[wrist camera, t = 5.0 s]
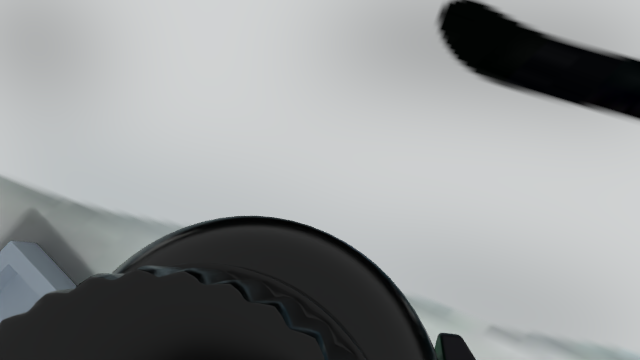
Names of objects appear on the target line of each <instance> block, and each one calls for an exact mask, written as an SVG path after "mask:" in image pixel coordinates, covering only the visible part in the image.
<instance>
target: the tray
mask: <svg viewBox="0 0 640 360" xmlns="http://www.w3.org/2000/svg"><path fill="white" fill-rule="evenodd" d="M76 287H77V286H76V285H75V284H74V283H73V282H72V280H71V279H70V278H69V277H68V276H67V275H66V274H65V273H64V272H63V271H62V270H61V269H60V268H59V267H58V266H57V265H56V263H55V262H54V261H53V260H52V259H51V258H50V257H49V256H48V255H47V254H46V253H45V252H44V251H43V250H42V249H41V247H40V246H39V245H38V244H37V243H31V242H21V241H10V242H9V243H8V244H7V245H6V246H5V247H4V248H3V249H2V250H1V251H0V322H1V321H2V320H3V319H6V318H8V317H11V316H14V315H17V314H20V313H24V312H27V311H29V310H30V309H31V308H32V307H33V305H34V304H35V303H36V302H37V301H38V300H39V299H40V298H41V297H43V296H44V295H45V294H47V293H49V292H52V291H56V290H65V289H75V288H76Z"/></svg>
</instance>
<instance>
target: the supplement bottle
mask: <svg viewBox="0 0 640 360" xmlns="http://www.w3.org/2000/svg"><path fill="white" fill-rule="evenodd" d="M0 360H438V358H437V355H436V352H435V349H434V347H433V345H432V343H431V340H430V338H429V336H428V334H427V331H426V329H425V328H424V326H423V324H422V322H421V321H420V319H419V317H418V315H417V314H416V312H415V310H414V309H413V307H412V306H411V304H410V303H409V302H408V300H407V299H406V297H405V296H404V294H403V293H402V292H401V291H400V289H399V288H398V287H397V286H396V285H395V284H394V282H393V281H392V280H391V279H390V278H389V277H388V276H387V275H386V274H385V273H384V272H383V271H382V270H381V269H380V268H379V267H378V266H377V265H376V264H375V263H373V262H372V261H371V260H370V259H368V258H367V257H366V256H365V255H364V254H362V253H361V252H359V251H358V250H356V249H355V248H353V247H352V246H350V245H348V244H347V243H346V242H344V241H342V240H339V239H338V238H336V237H334V236H332V235H330V234H328V233H326V232H324V231H321V230H319V229H316V228H314V227H311V226H308V225H305V224H301V223H298V222H294V221H290V220H285V219H280V218H274V217H263V216H235V217H226V218H219V219H214V220H209V221H205V222H201V223H197V224H194V225H191V226H188V227H185V228H182V229H180V230H177V231H175V232H173V233H170V234H168V235H166V236H164V237H162V238H160V239H158V240H156V241H155V242H153V243H151V244H149V245H147V246H146V247H145V248H143V249H142V250H140V251H139V252H137V253H136V254H134V255H133V256H131V257H130V258H129V259H128V260H126V261H125V262H124V263H123V264H122V265H120V266H119V267H118V268H117V269H116V270H115V271H114V272H113V273H112V274H110V273H103V274H97V275H94V276H92V277H90V278H88V279H86V280H85V281H83V282H82V283H80V284H79V285H78V286H77V287H76V288H75V289H65V290H56V291H52V292H49V293H47V294H45V295H44V296H43V297H41V298H40V299H39V300H38V301H37V302H36V303H35V304H34V305H33V307H32V308H31V309H30V310H29V311H27V312H24V313H20V314H17V315H14V316H11V317H8V318H6V319H3V320H2V321H1V322H0Z"/></svg>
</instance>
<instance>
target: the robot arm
mask: <svg viewBox="0 0 640 360" xmlns="http://www.w3.org/2000/svg"><path fill="white" fill-rule="evenodd" d="M435 352H436V355H437V358H438V360H476V359H475V358H474V356H473V354H472V353H471V351H470V350H469V348H468V346H467V345H466V343H465V342H464V340H463V339H462V337H461V336H459V335H456V334H448V333H440V334H439V335H438V337H437V341H436V345H435Z"/></svg>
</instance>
